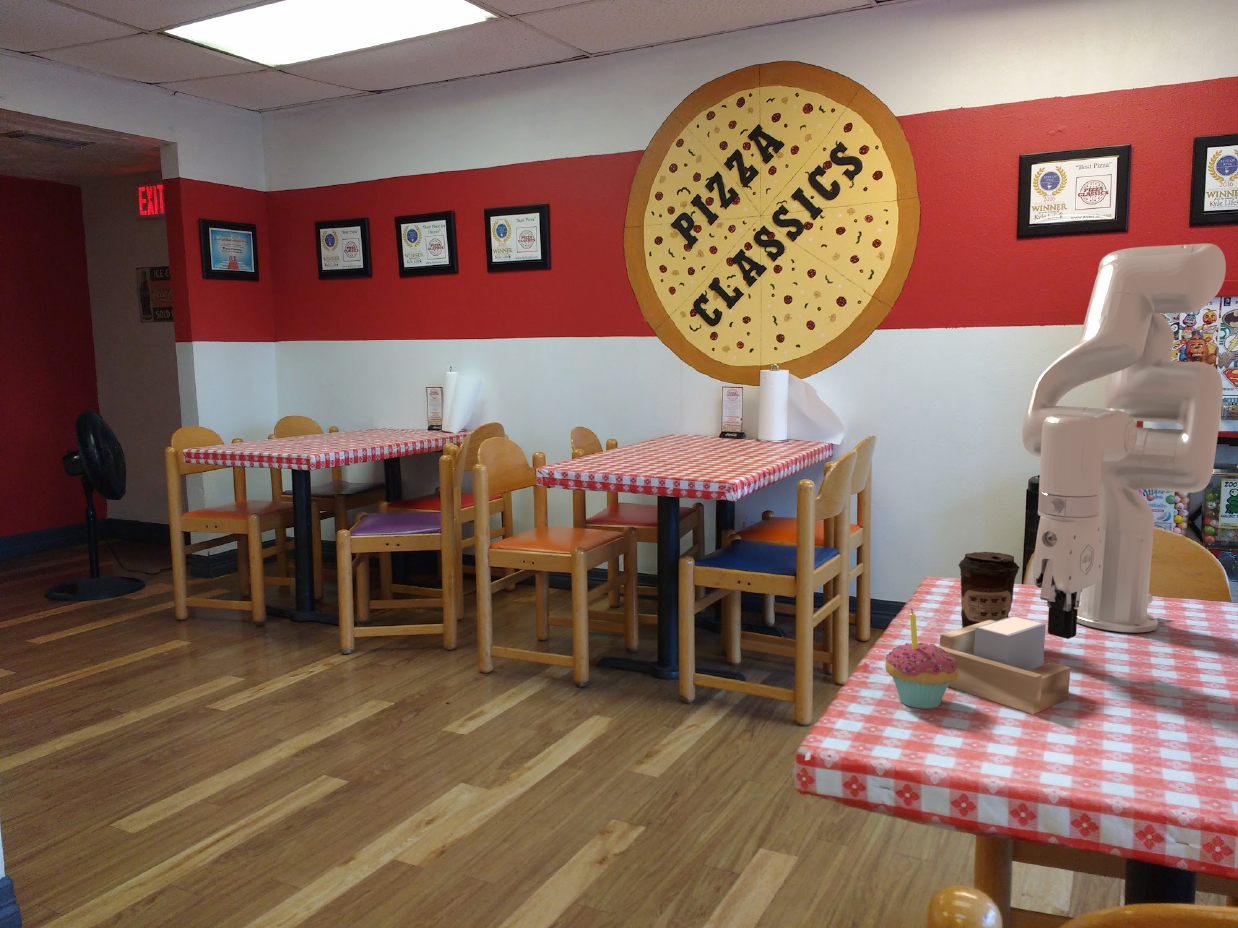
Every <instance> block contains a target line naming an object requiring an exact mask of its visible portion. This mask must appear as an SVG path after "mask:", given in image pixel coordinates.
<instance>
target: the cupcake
mask: <svg viewBox="0 0 1238 928" xmlns="http://www.w3.org/2000/svg"><path fill="white" fill-rule="evenodd" d="M913 610H914V609H913V607H910V613H909V620H910V621H909V623H910V635H911V638H910V639H911V643H906V642H905V644H901V645H900V644H899V646H895V647H894V648H892V650H891V651H889V652H888V653H887V654H886V656H885V665H884V666H885V671H886V673H888V674H889V675H890V677H892V678H893V682H894V684H895V688H896V693H897V695H898V700H899V701H900V702H901V703H902V704H903V705H906V706H908V707H911V708H914V709H915V708H916V709H926V710H927V709H928V710H929V709H934V708H937V707H939V706H940V705H941V702H942V699H943V697H944V695H945V692H946V690H947V688H949V687H948V685H949V684H950V682H954V681H955V680H956V679H957V677H958V668H957V667H958V666H957V665H958V664H957V662H956V661H955V660H954V659H953V657H951V656H950V655H949V654H948V653H947V652H945V650H943V649H941V648H940V647H937V646H938V645H937V646H936V645H935V644H934V643H933V644H932V643H929V644H927V643H923V642H918V632H917V631H918V629H917V615H916V613H914V611H913Z"/></svg>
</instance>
